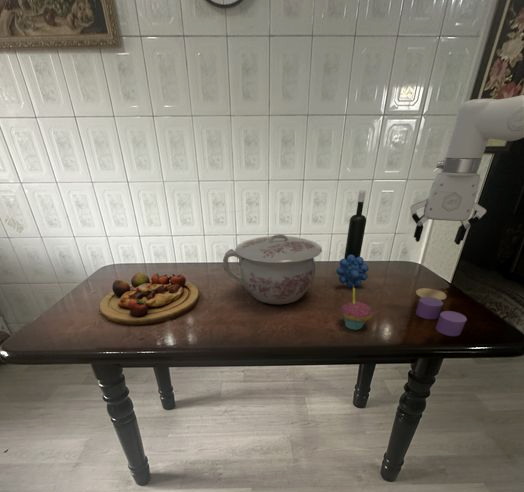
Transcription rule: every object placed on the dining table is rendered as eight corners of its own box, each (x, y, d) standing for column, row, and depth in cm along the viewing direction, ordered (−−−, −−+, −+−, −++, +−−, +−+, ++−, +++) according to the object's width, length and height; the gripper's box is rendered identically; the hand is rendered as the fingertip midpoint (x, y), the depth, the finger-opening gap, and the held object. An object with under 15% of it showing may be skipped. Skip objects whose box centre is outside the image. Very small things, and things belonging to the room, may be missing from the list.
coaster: (446, 292, 105) (447, 291, 105) (445, 303, 98) (446, 302, 98) (417, 287, 109) (417, 286, 109) (414, 297, 102) (414, 296, 102)
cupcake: (336, 329, 85) (342, 290, 78) (341, 316, 92) (347, 278, 85) (367, 335, 82) (376, 295, 76) (371, 321, 89) (379, 283, 82)
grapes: (337, 292, 106) (341, 259, 99) (332, 285, 111) (336, 252, 105) (369, 291, 106) (376, 258, 100) (363, 284, 112) (369, 251, 105)
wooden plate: (174, 332, 85) (168, 305, 81) (77, 321, 91) (67, 296, 87) (213, 287, 111) (211, 265, 106) (136, 281, 117) (130, 260, 112)
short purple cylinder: (461, 327, 85) (466, 314, 83) (460, 338, 81) (467, 324, 78) (436, 322, 88) (441, 309, 85) (434, 332, 83) (439, 318, 81)
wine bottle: (358, 277, 117) (373, 191, 100) (343, 277, 118) (355, 191, 100) (355, 272, 122) (369, 189, 105) (340, 272, 122) (352, 189, 105)
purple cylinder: (439, 312, 93) (443, 299, 91) (437, 321, 89) (442, 307, 86) (416, 308, 96) (420, 295, 93) (414, 316, 91) (418, 303, 89)
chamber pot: (331, 291, 107) (338, 230, 95) (290, 323, 88) (293, 253, 77) (266, 275, 120) (266, 220, 108) (220, 300, 102) (213, 237, 90)
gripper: (422, 168, 70) (402, 243, 80) (508, 169, 65) (476, 248, 75) (418, 165, 76) (401, 236, 85) (497, 166, 71) (469, 240, 81)
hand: (436, 241), depth 80 cm, fingers open, 9 cm apart
